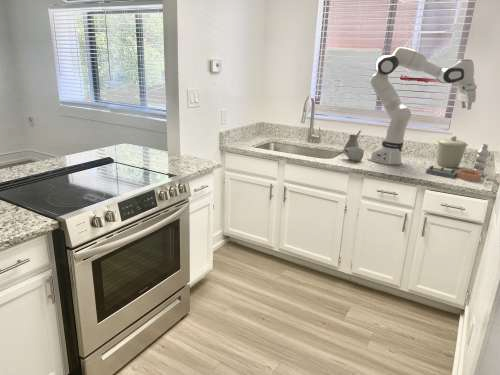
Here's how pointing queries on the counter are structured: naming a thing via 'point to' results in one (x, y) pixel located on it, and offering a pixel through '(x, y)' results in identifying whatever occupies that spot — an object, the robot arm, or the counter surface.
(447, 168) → the cream matte cube
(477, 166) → the silver metal bottle
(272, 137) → the counter surface
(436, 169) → the tan block
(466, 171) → the terracotta bowl
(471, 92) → the robot arm
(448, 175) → the slate tray
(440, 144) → the canister
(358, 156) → the teacup
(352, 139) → the coffee pot
